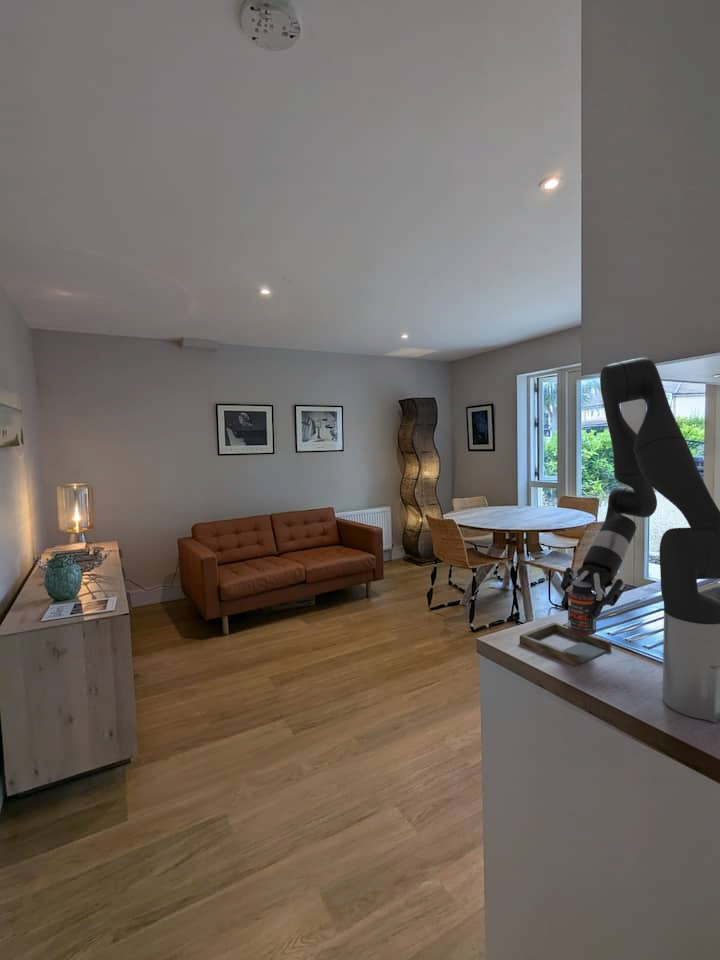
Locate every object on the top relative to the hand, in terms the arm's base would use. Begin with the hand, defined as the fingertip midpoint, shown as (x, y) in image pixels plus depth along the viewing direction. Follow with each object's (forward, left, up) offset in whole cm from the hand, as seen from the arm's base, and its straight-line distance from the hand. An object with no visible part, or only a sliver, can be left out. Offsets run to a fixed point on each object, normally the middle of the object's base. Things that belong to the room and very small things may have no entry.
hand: (577, 612), depth 105 cm
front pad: (0, -2, -10) cm, 10 cm away
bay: (+4, -2, -10) cm, 11 cm away
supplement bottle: (0, -2, -5) cm, 5 cm away
